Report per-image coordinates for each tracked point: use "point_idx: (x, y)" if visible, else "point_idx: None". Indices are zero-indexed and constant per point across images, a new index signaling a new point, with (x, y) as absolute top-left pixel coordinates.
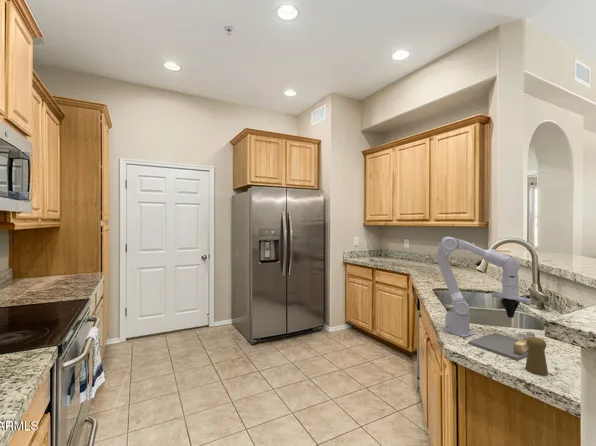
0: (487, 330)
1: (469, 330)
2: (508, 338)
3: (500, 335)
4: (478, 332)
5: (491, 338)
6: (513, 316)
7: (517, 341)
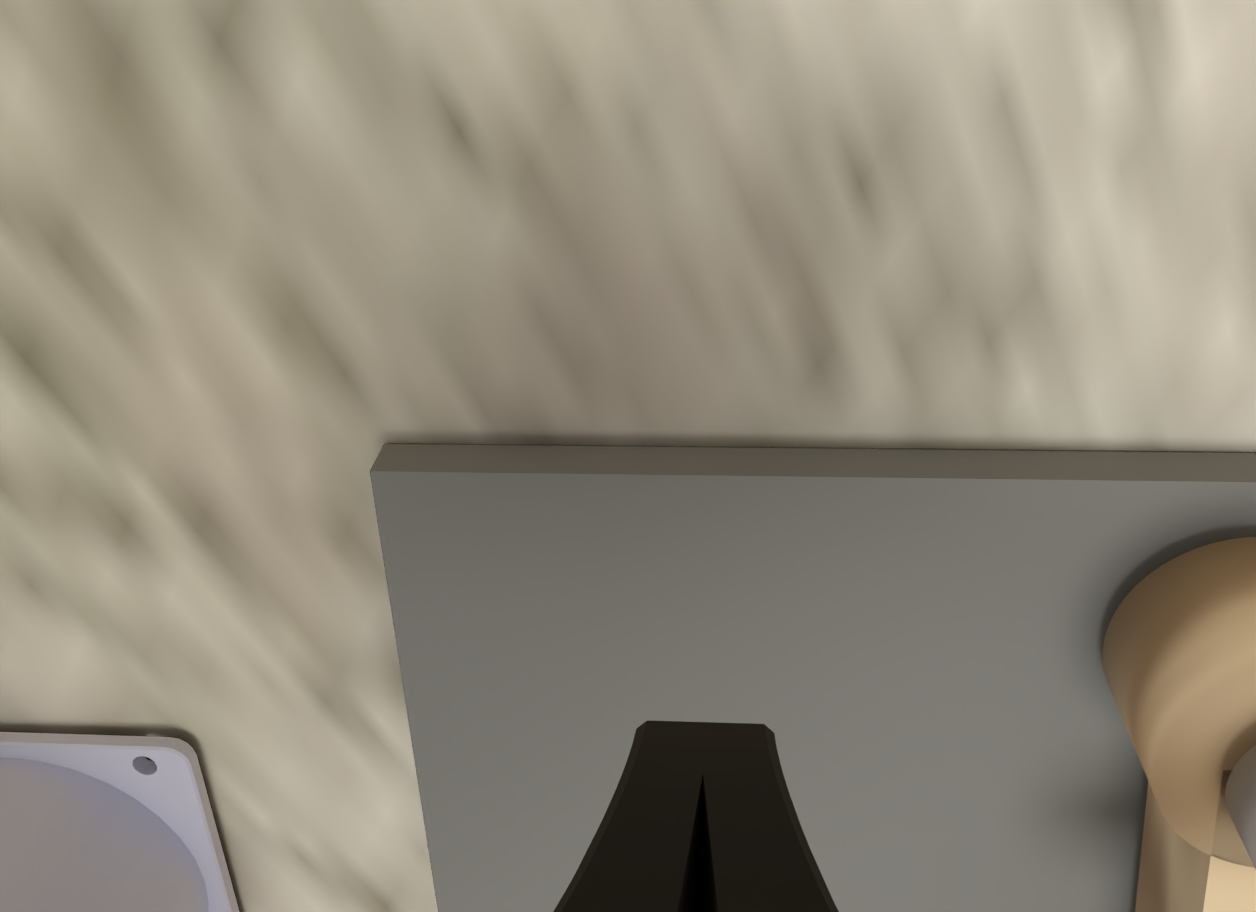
0: (77, 265)
1: (151, 884)
2: (747, 581)
3: (547, 538)
4: (128, 567)
5: (565, 823)
6: (773, 752)
7: (948, 604)
